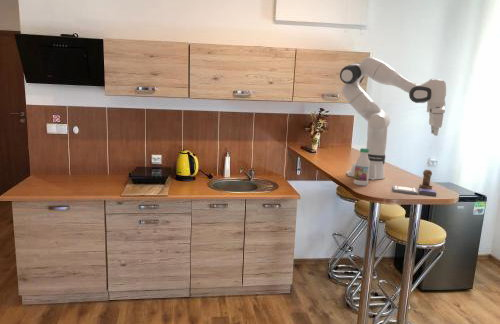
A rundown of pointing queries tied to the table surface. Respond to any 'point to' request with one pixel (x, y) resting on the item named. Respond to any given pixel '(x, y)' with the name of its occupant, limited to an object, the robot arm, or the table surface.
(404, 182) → the table surface
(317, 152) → the table surface
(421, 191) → the ink pad
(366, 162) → the milk bottle
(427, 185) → the stamp
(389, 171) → the table surface
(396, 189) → the board
